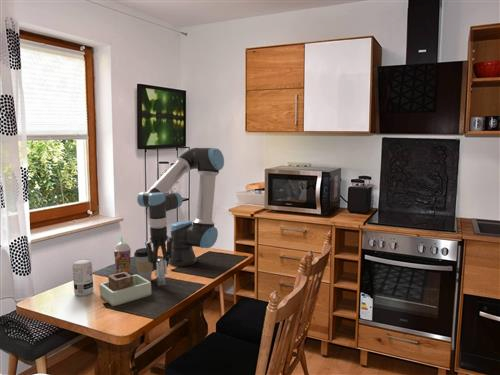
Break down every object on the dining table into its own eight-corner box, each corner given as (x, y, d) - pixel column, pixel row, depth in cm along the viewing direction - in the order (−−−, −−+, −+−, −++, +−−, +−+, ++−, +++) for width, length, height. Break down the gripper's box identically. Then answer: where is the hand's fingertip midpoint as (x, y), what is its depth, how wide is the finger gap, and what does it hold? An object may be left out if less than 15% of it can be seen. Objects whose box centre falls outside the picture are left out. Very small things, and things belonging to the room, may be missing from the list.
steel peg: (163, 281, 198) (161, 257, 196) (166, 284, 195) (165, 259, 193) (156, 283, 196) (154, 259, 194) (159, 286, 193) (158, 261, 191)
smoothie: (119, 278, 209) (117, 239, 206) (112, 274, 215) (110, 236, 212) (134, 274, 214) (132, 236, 211) (127, 270, 220) (125, 233, 217)
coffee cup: (149, 283, 202) (148, 253, 199) (131, 282, 204) (130, 252, 201) (157, 276, 211) (156, 248, 209) (140, 275, 213) (139, 247, 210)
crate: (137, 286, 198) (136, 274, 197) (151, 294, 188) (150, 282, 187) (100, 296, 186) (99, 283, 186) (113, 306, 176) (112, 292, 175)
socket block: (126, 291, 191) (125, 271, 190) (134, 297, 185) (132, 276, 184) (109, 296, 186) (108, 275, 185) (116, 302, 180) (115, 280, 179)
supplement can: (74, 291, 193) (72, 260, 190) (93, 288, 196) (91, 257, 194) (74, 297, 185) (72, 265, 183) (94, 294, 188) (92, 263, 186)
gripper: (170, 221, 199) (172, 268, 203) (138, 228, 188) (141, 277, 192) (178, 224, 193) (180, 272, 197) (145, 231, 183) (148, 281, 187)
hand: (161, 274), depth 195 cm, fingers closed on steel peg, 3 cm apart
